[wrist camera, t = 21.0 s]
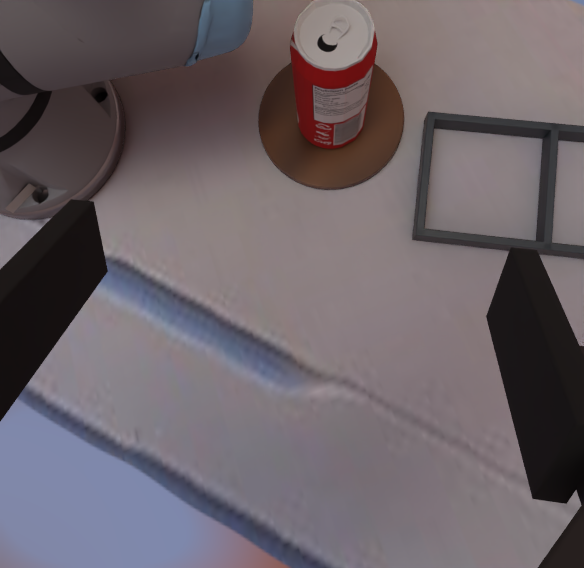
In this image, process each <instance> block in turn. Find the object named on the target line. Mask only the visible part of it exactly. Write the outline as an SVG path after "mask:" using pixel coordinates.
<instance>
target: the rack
mask: <svg viewBox="0 0 584 568" xmlns="http://www.w3.org/2000/svg"><path fill="white" fill-rule="evenodd" d="M434 128H441V129H452V130H462V131H473V132H483V133H494V134H504V135H515V136H525V137H536V138H543V146H542V161H541V176H540V191H539V205H538V220H537V235H536V241H531V240H522V239H513V238H504V237H495V236H486V235H476V234H467V233H458V232H449V231H440V230H431V229H424V225H425V215H426V205H427V194H428V184H429V174H430V163H431V153H432V143H433V132H434ZM558 140H567V141H578V142H584V126H577V125H566V124H556V123H544V122H533V121H523V120H512V119H501V118H490V117H480V116H469V115H458V114H447V113H437V112H428V113H427V116H426V118H425V120H424V129H423V139H422V149H421V159H420V169H419V179H418V189H417V199H416V209H415V219H414V229H413V240H420V241H429V242H438V243H447V244H456V245H464V246H473V247H482V248H491V249H500V250H509V251H510V248H511V247H513V248H522V249H531V250H537V251H538V254H545V255H554V256H563V257H572V258H581V259H584V246H577V245H568V244H558V243H552V230H553V214H554V198H555V182H556V166H557V150H558Z"/></svg>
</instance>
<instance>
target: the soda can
mask: <svg viewBox="0 0 584 568" xmlns="http://www.w3.org/2000/svg"><path fill="white" fill-rule="evenodd" d="M376 50H377V39H376V33H375V28H374V23H373V19H372V17H371V15H370V13H369V11H368V10H367V9H366V8H365V7H364V6H363V4H361V3H360V2H358V1H357V0H313V1H312V2H311V3H310V4H309V5H308V6H307V7H306V8H305V9H304V10H303V11H302V12H301V13H300V14H299V15H298V18H297V20H296V22H295V27H294V32H293V35H292V38H291V44H290V52H291V62H292V71H293V81H294V90H295V100H296V109H297V118H298V125H299V128H300V131H301V133H302V134H303V135H304V137H305V138H306V139H307V140H308V141H309V142H311V143H312V144H314V145H316V146H319V147H321V148H327V149H334V148H340V147H343V146H344V145H346V144H348V143H350V142H352V141H354V140H355V139H356V138H357V136H358V135H359V133H360V132H361V130H362V129H363V126H364V120H365V115H366V109H367V103H368V97H369V91H370V86H371V80H372V74H373V68H374V62H375V56H376Z"/></svg>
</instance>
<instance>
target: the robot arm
mask: <svg viewBox="0 0 584 568" xmlns="http://www.w3.org/2000/svg"><path fill="white" fill-rule="evenodd" d="M252 16H253V0H0V214H2V215H5V216H9V217H13V218H19V219H42V218H48V217H52V218H51V219H50V220H49V221H48V222H47V223H46V224H45V225H44V226H43V227H42V228H41V229H40V230H39V231H38V232H37V233H36V234H35V235H34V236H33V237H32V238H31V239H30V240H29V241H28V242H27V243H26V244H25V245H24V246H23V247H22V248H21V249H20V250H19V251H18V252H17V253H16V254H15V255H14V256H13V257H12V258H11V259H10V260H9V261H8V262H7V263H6V264H5V265H4V266H3V267H2V268H1V269H0V421H1V420H2V418H3V417H4V416H5V414H6V413H7V411H8V410H9V409H10V407H11V406H12V404H13V403H14V402H15V400H16V399H17V397H18V396H19V395H20V393H21V392H22V390H23V389H24V388H25V386H26V385H27V383H28V382H29V381H30V379H31V378H32V376H33V375H34V374H35V372H36V371H37V369H38V368H39V367H40V365H41V364H42V362H43V361H44V360H45V358H46V357H47V355H48V354H49V353H50V351H51V350H52V348H53V347H54V346H55V344H56V343H57V341H58V340H59V339H60V337H61V336H62V334H63V333H64V332H65V330H66V329H67V328H68V326H69V325H70V323H71V322H72V321H73V319H74V318H75V316H76V315H77V314H78V312H79V311H80V309H81V308H82V307H83V305H84V304H85V302H86V301H87V300H88V298H89V297H90V295H91V294H92V293H93V291H94V290H95V288H96V287H97V286H98V284H99V283H100V281H101V280H102V279H103V277H104V276H105V274H106V273H107V272H108V271H107V266H106V261H105V256H104V251H103V246H102V241H101V236H100V231H99V226H98V221H97V216H96V211H95V206H94V202H92V201H86V200H88V199H89V198H90V197H91V196H93V195H94V194H95V193H96V192H97V191H98V190H99V189H100V188H101V187H102V186H103V184H104V183H105V182H106V181H107V179H108V178H109V176H110V175H111V173H112V172H113V170H114V168H115V166H116V164H117V162H118V160H119V157H120V155H121V151H122V148H123V143H124V137H125V117H124V111H123V107H122V103H121V100H120V98H119V95H118V93H117V91H116V89H115V88H114V86H113V84H112V83H111V82H110V80H111V79H116V78H121V77H127V76H132V75H137V74H143V73H148V72H153V71H159V70H164V69H169V68H175V67H180V66H191V65H193V64H195V63H196V62H197V61H199V60H202V59H206V58H209V57H213V56H216V55H220V54H223V53H227V52H230V51H233V50H235V49H236V48H238V47H239V46H240V45H242V44H243V42H244V41H245V40H246V38H247V36H248V34H249V32H250V29H251V24H252ZM486 317H487V321H488V325H489V329H490V333H491V337H492V341H493V345H494V349H495V353H496V357H497V361H498V365H499V368H500V372H501V376H502V380H503V384H504V388H505V392H506V396H507V400H508V404H509V408H510V412H511V416H512V419H513V423H514V427H515V431H516V435H517V439H518V443H519V447H520V451H521V455H522V459H523V463H524V467H525V470H526V474H527V478H528V482H529V486H530V490H531V494H532V498H533V499H538V500H545V501H552V502H559V503H565V504H567V502H568V501H569V499H570V498H571V496H572V495H573V493H574V492H575V490H577V493H578V496H579V499H580V502H581V505H582V506H581V507H580V509H579V510H578V512H577V513H576V514H575V516H574V517H573V519H572V520H571V521H570V523H569V524H568V526H567V527H566V529H565V530H564V531H563V533H562V534H561V536H560V537H559V538H558V540H557V541H556V543H555V544H554V545H553V547H552V548H551V550H550V551H549V553H548V554H547V555H546V557H545V558H544V560H543V561H542V562H541V564H540V565H539V567H538V568H584V346H579V344H578V342H577V339H576V337H575V335H574V333H573V330H572V328H571V326H570V324H569V321H568V319H567V317H566V315H565V312H564V310H563V308H562V305H561V303H560V301H559V299H558V296H557V294H556V292H555V290H554V287H553V285H552V283H551V281H550V278H549V276H548V274H547V272H546V269H545V267H544V265H543V263H542V260H541V258H540V256H539V254H538V251H537V250H531V249H522V248H513V247H511V248H510V251H509V254H508V257H507V260H506V263H505V265H504V268H503V271H502V274H501V277H500V279H499V282H498V285H497V288H496V291H495V293H494V296H493V299H492V302H491V305H490V307H489V310H488V313H487V316H486Z"/></svg>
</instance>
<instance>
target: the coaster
mask: <svg viewBox="0 0 584 568" xmlns="http://www.w3.org/2000/svg"><path fill="white" fill-rule="evenodd" d="M403 124H404V111H403V105H402V101H401V98H400V95H399V93H398V90H397V88H396V86H395V85H394V83H393V82H392V80H391V79H390V78H389V76H388V75H387V74H386V73H385V72H384V71H383V70H382V69H381V68H380V67H379V66H377V65H376V64H374V68H373V74H372V80H371V86H370V91H369V97H368V103H367V109H366V115H365V120H364V126H363V129H362V130H361V132H360V133H359V135H358V136H357V138H356V139H355V140H354V141H352V142H350V143H348V144H346V145H344V146H343V147H340V148H334V149H327V148H321V147H319V146H316V145H314V144H312V143H311V142H309V141H308V140H307V139H306V138H305V137H304V135H303V134H302V133H301V131H300V128H299V125H298V118H297V109H296V100H295V90H294V81H293V71H292V63H290V64H289V65H287V66H286V67H285V68H283V69H282V70H281V71H280V72H279V73H278V74H277V75H276V76H275V78H274V79H273V80H272V81H271V83H270V84H269V86H268V88H267V89H266V91H265V94H264V96H263V98H262V101H261V105H260V110H259V132H260V136H261V140H262V143H263V146H264V148H265V151H266V153H267V154H268V156H269V158H270V159H271V161H272V162H273V163H274V164H275V166H276V167H277V168H278V169H279V170H280V171H281V172H282V173H284V174H285V175H286V176H288V177H289V178H291V179H292V180H294V181H296V182H298V183H300V184H303V185H305V186H309V187H313V188H317V189H342V188H347V187H351V186H355V185H357V184H360V183H362V182H364V181H366V180H368V179H369V178H371V177H372V176H374V175H375V174H377V173H378V172H379V171H380V170H381V169H382V168H383V167H384V166H385V165H386V164H387V163H388V162H389V160H390V159H391V158H392V156H393V154H394V153H395V151H396V149H397V147H398V144H399V142H400V139H401V135H402V131H403Z"/></svg>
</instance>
